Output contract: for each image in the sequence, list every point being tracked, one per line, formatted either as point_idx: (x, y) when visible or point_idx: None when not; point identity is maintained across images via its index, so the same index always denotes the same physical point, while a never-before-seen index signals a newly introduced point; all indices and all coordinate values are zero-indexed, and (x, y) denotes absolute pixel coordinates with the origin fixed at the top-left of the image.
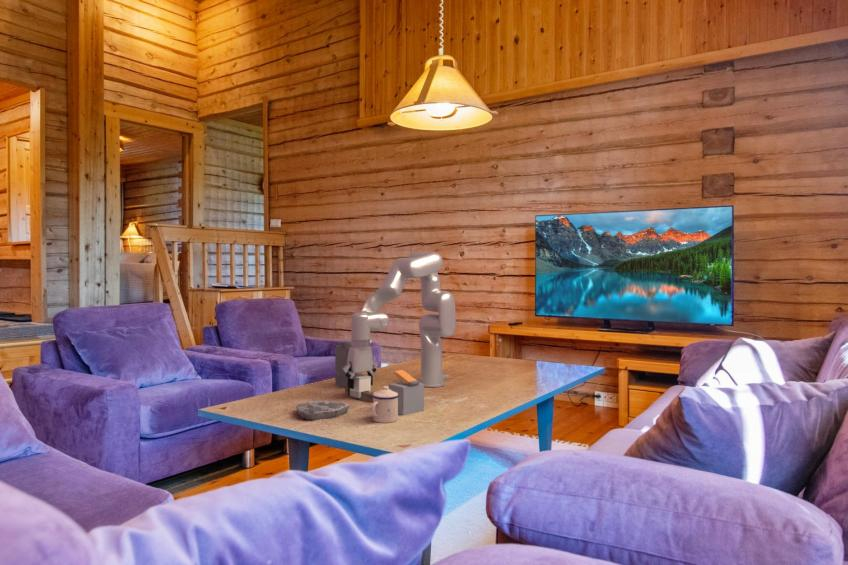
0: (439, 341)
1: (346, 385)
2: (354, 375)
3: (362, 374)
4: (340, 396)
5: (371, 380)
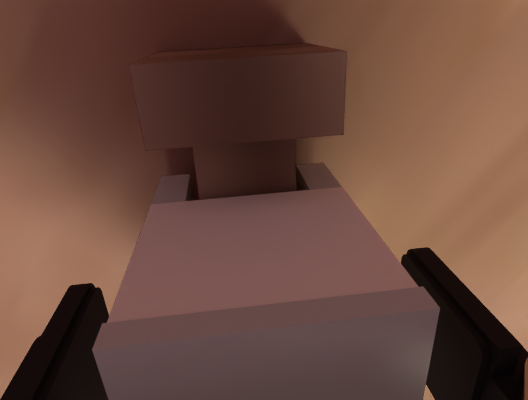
0: None
1: (144, 102)
2: (218, 351)
3: (426, 342)
4: (105, 24)
5: (428, 378)
